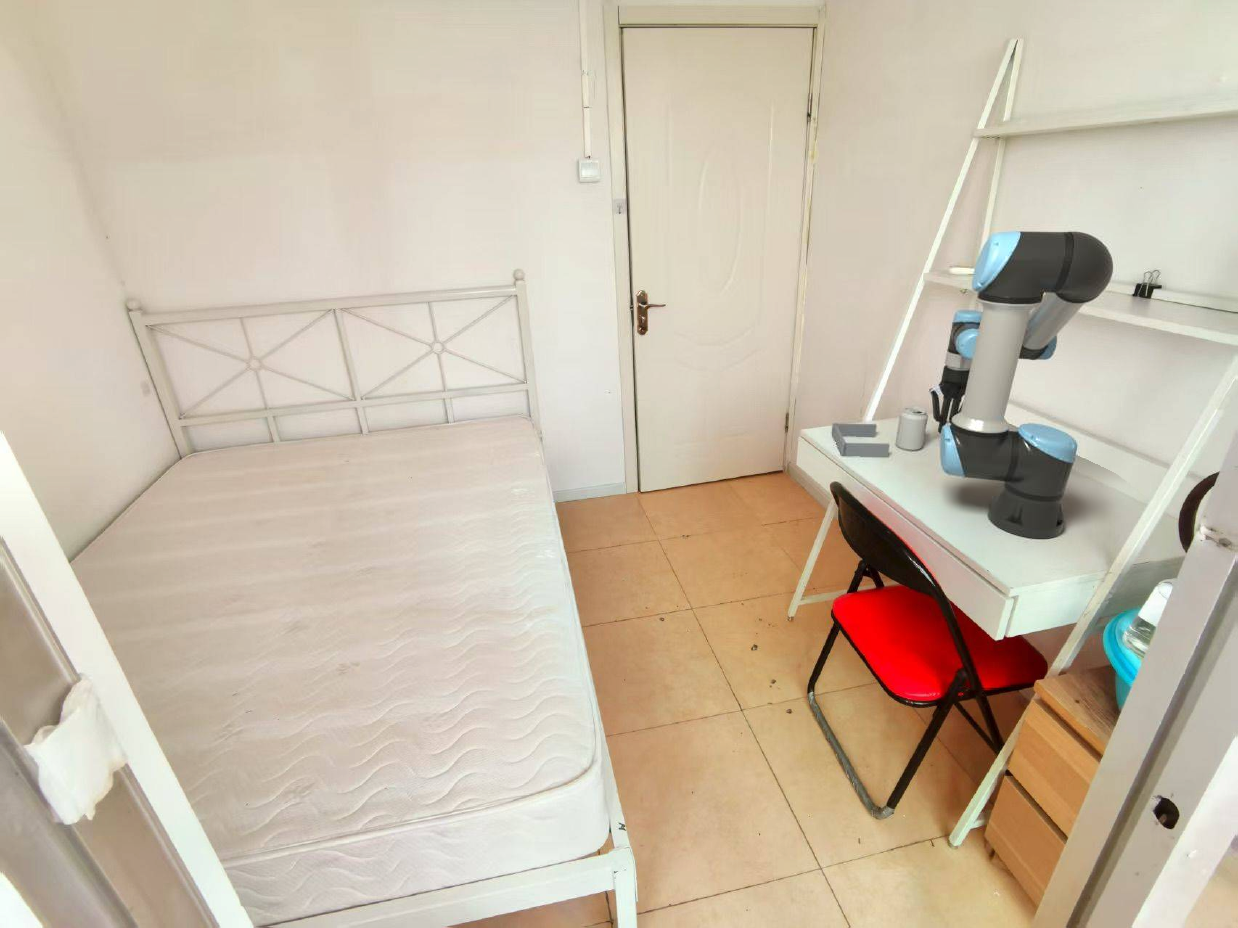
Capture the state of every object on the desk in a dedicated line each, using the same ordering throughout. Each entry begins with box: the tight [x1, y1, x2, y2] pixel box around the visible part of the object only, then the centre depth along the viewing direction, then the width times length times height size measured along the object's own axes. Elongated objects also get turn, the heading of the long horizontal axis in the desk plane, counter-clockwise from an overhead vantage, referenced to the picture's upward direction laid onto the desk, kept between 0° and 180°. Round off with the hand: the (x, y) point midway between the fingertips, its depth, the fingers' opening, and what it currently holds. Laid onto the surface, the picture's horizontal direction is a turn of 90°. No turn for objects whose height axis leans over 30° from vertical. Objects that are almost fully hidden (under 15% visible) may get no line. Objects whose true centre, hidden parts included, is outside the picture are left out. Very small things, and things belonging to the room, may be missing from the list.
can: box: [894, 406, 929, 452], centre depth 186 cm, size 8×8×12 cm
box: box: [831, 423, 891, 458], centre depth 190 cm, size 16×13×4 cm
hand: (942, 443), depth 187 cm, fingers closed
